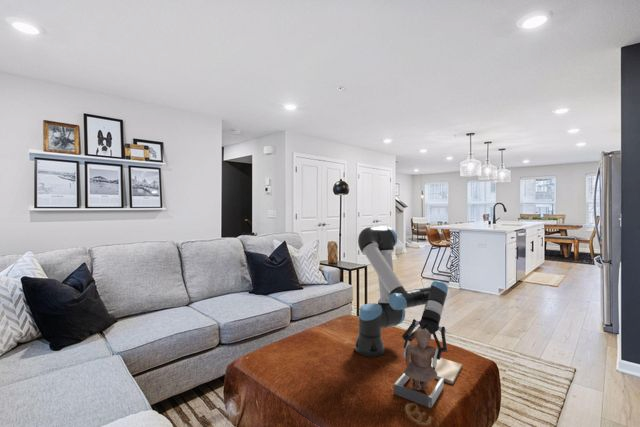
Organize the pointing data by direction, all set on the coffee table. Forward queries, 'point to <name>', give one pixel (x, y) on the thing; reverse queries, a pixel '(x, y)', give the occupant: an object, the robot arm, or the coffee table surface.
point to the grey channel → (416, 395)
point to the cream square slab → (447, 370)
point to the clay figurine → (420, 360)
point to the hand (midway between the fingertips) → (418, 361)
